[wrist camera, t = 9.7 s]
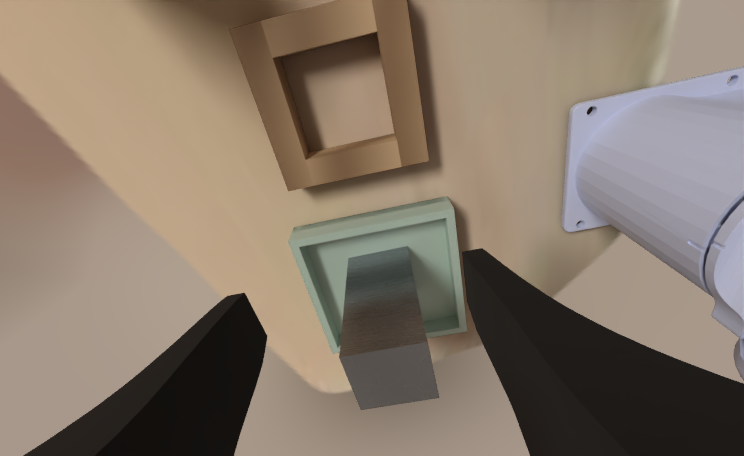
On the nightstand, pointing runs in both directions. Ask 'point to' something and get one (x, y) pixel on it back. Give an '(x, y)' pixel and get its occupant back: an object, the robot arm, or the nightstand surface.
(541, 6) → the nightstand surface
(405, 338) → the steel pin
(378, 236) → the sage tray
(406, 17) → the oak holder
